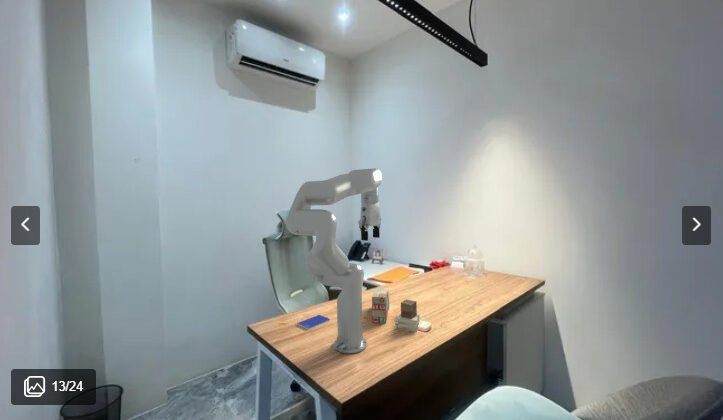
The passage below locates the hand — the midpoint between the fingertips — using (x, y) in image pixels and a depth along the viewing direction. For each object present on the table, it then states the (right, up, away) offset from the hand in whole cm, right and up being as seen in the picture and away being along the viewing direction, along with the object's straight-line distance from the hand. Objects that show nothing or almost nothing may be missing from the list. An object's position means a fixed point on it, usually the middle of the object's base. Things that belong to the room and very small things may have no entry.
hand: (370, 238), depth 130 cm
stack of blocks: (+6, -38, +14) cm, 41 cm away
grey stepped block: (+17, -38, -1) cm, 42 cm away
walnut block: (+17, -33, -1) cm, 37 cm away
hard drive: (-26, -39, +5) cm, 47 cm away
